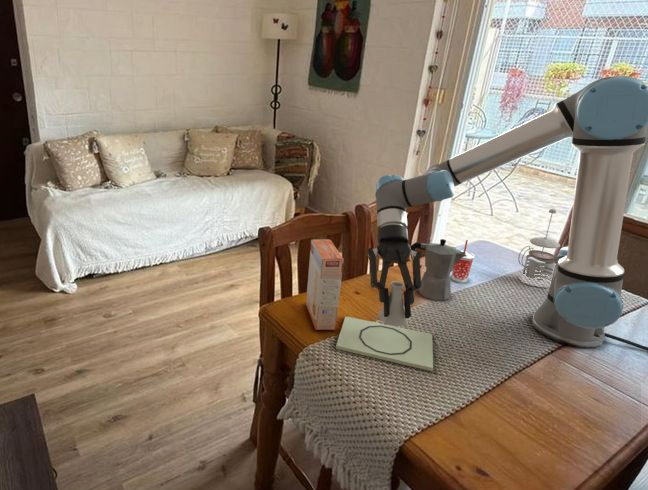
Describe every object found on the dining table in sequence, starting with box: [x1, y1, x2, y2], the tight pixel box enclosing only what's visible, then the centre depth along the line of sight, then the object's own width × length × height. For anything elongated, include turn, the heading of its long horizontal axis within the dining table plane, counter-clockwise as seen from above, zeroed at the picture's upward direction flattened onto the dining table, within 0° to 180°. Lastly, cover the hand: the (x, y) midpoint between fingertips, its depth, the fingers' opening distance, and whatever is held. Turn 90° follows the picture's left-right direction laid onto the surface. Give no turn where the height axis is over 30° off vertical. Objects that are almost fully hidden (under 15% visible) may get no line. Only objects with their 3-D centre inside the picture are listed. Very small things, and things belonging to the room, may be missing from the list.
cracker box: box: [305, 238, 345, 331], centre depth 119 cm, size 14×6×21 cm, turn 0°
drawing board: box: [335, 315, 434, 372], centre depth 111 cm, size 22×15×1 cm
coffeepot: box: [409, 238, 466, 301], centre depth 134 cm, size 15×9×18 cm, turn 59°
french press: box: [517, 208, 561, 281], centre depth 140 cm, size 10×12×25 cm
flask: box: [377, 280, 409, 327], centre depth 109 cm, size 7×7×10 cm
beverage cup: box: [451, 239, 475, 284], centre depth 143 cm, size 6×6×14 cm
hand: (397, 316), depth 106 cm, fingers closed on flask, 4 cm apart
